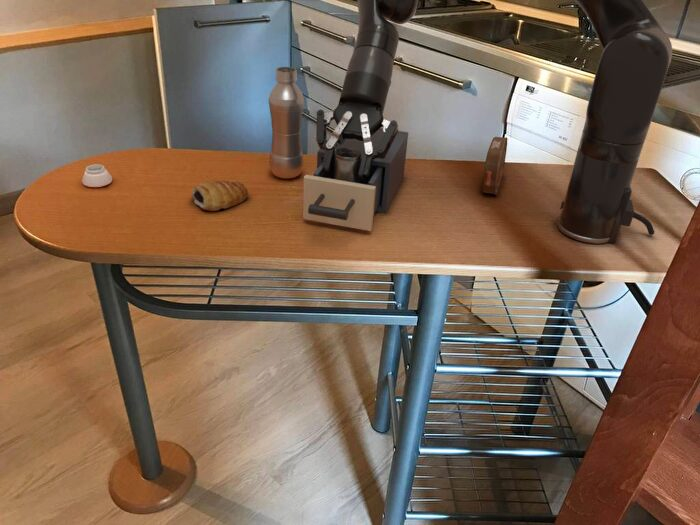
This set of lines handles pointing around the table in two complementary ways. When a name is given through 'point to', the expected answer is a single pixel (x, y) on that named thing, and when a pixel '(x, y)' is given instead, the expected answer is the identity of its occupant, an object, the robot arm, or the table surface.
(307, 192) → the drawer
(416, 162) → the table surface
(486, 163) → the tin
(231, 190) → the pastry
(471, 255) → the table surface
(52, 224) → the table surface
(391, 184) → the cabinet
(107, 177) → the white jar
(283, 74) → the metallic bottle
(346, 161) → the steel cylinder
